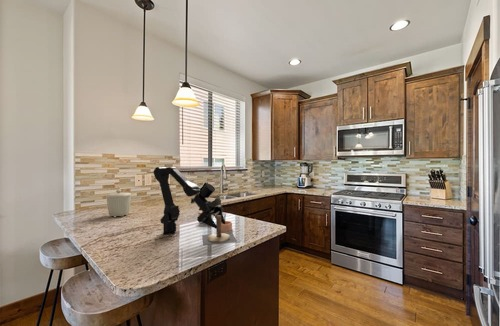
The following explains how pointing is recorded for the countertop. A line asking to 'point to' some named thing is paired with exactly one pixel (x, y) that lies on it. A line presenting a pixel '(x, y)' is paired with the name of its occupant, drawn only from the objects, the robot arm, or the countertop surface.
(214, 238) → the disc with tall peg
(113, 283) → the countertop surface
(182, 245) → the countertop surface
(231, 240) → the mat
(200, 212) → the lidded jar
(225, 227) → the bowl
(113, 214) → the canister
